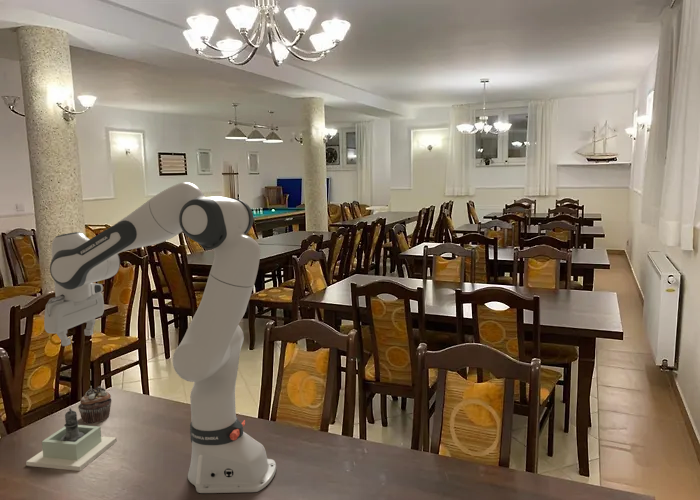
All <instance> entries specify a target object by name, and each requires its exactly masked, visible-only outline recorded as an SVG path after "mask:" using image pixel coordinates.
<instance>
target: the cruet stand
mask: <svg viewBox="0 0 700 500" xmlns="http://www.w3.org/2000/svg"><path fill="white" fill-rule="evenodd" d="M101 428H102V427H101V426H96V425H85V424H78V430H79V432H82V433H84V436H83V437H81V438H80V439H78V440H77V441H76V442H69V441H61V438H62V437H63V436H64V435H66V427H65V426H63V427H62V428H60V429H59V430H57V431H55V432H54V433H52V434H51V435H49V436H48V437H46V438H44V440H42V441H41V449H42V450H41V451H40V452H38V453H36V454H35V455H33V456H32V457H30V458H29V459H27V460H26V462H25V463H26V466H27V467H36V468H37V467H38V468H46V469H47V468H48V469H55V470H56V469H57V470H68V471H76V472H77V471H78V472H81V471H82V470H83V469H85V468H86V466H88V465H90V464H91V463H92V462H93V461H94V460H95V459H97V458H98V457H99V456H101V455H102V454H103V453H104V452H106V451H107V450H108V449H109V448H111V446H113V445H114V444H115V443H116V442H117V437H114V436H112V437H111V436H102V430H101Z"/></svg>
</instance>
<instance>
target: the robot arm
mask: <svg viewBox="0 0 700 500" xmlns="http://www.w3.org/2000/svg"><path fill="white" fill-rule="evenodd" d="M253 224H254V213H253V211H252V209H251V207H250V206H249V205H248V203H246V202H245V201H243V200H241V199H239V198H237V197H236V198H235V197H225V196H222V195H221V196H220V195H214V196H213V195H212V196H205V195H204V193H203V191H202V190H201V189H200V188H199V186H197V185H196V184H194V183H191V182H188V181H182V182H179V183H176V184H174V185H172V186H170V187H168V188H166V189H164V190H162V191H160V192H159V193H157V194H156V195H154V196H153V197H150V199H149V200H146V202H145V203H142V205H140V206H139V207H138V208H136V209H135V210H133V211H132V212H131V213H129V214H128V215H126V216H125V217H123V218H121V219H120V220H119V221H118V222H117V223H115V224H113V225H111V226H110V227H108V228H107V229H105V230H103V231H101V232H100V233H98V234H97V235H95V236H94V237H93V236H92V238H89V237H87V235H85V234H84V233H83V232H80V231H79V232H77V231H74V232H69V233H62V234H59V235H56V236H55V237H54V238H53V240H52V242H51V261H50V265H49V271H50V275H51V277H52V279H53V284H54V292H55V293H54V294H55V296H54V297H51V298H49V299H48V301H47V303H46V304H45V309H44V320H43V321H44V323H43V324H44V331H45V332H46V333H47V334H56V335H57V337H58V338H59V340H60V343H61V346H62V347H67V346H70V345H71V343H72V339H71V337H68V335H67V334H68V330H69V329H73V328H74V327H77V326H80V325H82V324H84V323H85V324H86V327H85V329H83V333H84V334H83V335H84V336H88V337H89V336H92V335H93V334H94V327H95V323H96V319H97V318H99V317H101V316H103V314H104V311H105V302H104V295H103V293H102V292H103V291H104V286H103V284H101V283H96V282H100V281H105V280H107V279H110V278H112V277H114V276H116V275H117V274H118V272H119V270H120V267H121V259H120V255H119V254H120V253H123V252H126V251H130V250H134V249H141V248H143V247H144V248H145V247H148V246H149V247H150V246H154V245H159V244H162V243H164V242H166V241H168V240H170V239H173V238H175V237H176V236H178V235H179V234H181V233H182V232H183V233H184V234H185V236H186V237H188V238H189V239H190V240H192V241H193V242H196V243H197V244H199V246H201V247H202V248H203V249H205V250H208V251H209V250H213V252H214V253H213V254H214V257H213V262H212V265H211V268H210V271H209V275H208V277H207V280H206V281H207V282H206V285H205V288H204V291H203V294H202V297H201V300H200V303H199V305H198V307H197V310H195V314H194V315H193V317H192V319H191V321H190V323H189V325H188V327H187V329H186V332H185V334H184V336H183V337H182V340H181V342H180V343H179V344H178V346H177V347H176V349H175V351H174V352H173V355H172V366H173V367H172V368H173V369H174V371H175V373H176V374H177V375H178V377H180V378H181V379H182V380H183V381H187V382H190V383H193V386H192V389H191V390H190V413H191V416H190V417H191V422H190V425H189V426H190V428H189V429H190V433H189V434H190V442H191V456H190V458H191V459H190V465H189V469H188V472H187V479H188V481H189V483H191V484H192V485H194V486H195V491H196V493H198V494H199V493H200V494H217V493H218V494H219V493H220V494H223V493H225V494H226V493H227V494H228V493H229V494H230V493H257V492H260V491H261V490H263V489H264V488H266V486H268V485H269V484H270V483H271V481H272V480H273V478H274V476H275V474H276V472H277V463H276V461H275V459H272V458H268V456H267V451H266V449H265V447H264V445H263V444H262V443H261V442H259V441H257V440H256V439H254V438H253V437H252V436H251V435H249V434H248V433H246V432H245V431H244V427H245V425H246V420H245V419H244V420H243V421H242V422H240V420H239V418H238V417H237V414H236V413H237V412H236V409H237V408H236V407H237V406H236V383H237V377H238V371H239V370H238V369H239V363H240V356H241V355H240V354H241V350H242V347H243V344H244V340H245V339H244V338H245V336H244V331H243V329H242V327H241V325H240V322H241V321H242V319H243V317H244V316H245V313H246V312H247V308H248V305H249V301H250V299H251V296H252V293H253V292H252V291H253V289H254V286H255V283H256V279H257V275H258V271H259V267H260V266H259V265H260V259H261V247H260V245H259V243H258V242H257V241H256V240H255V239H254V238H253V237H251V236H250V235H247V234H248V233H249V231H251V229H252V226H253Z"/></svg>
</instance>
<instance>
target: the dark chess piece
mask: <svg viewBox="0 0 700 500" xmlns="http://www.w3.org/2000/svg"><path fill="white" fill-rule="evenodd" d="M64 419H65V424H63V427H66V435H64V436H63V437H62V438H61V441H69V442H76V441H77V440H78V439H80V438H81V437H83V436H84V433H82V432H79V430H78V425H80V424H79V423H80V422H79V421H78V415H77V411H75V410H72V408H71V407H70V408H69V410H68V411H67V412H65V414H64Z"/></svg>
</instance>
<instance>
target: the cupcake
mask: <svg viewBox="0 0 700 500" xmlns="http://www.w3.org/2000/svg"><path fill="white" fill-rule="evenodd" d="M112 402H113V401H112V396H111V394H110V393H109V391H107V390H106V388H104V387H103V386H101V385H99V386H97V387H95V388H92V387H90V388H89V389H88V390H87V391H86V392H85V394H84V396H82V397H81V398H80V404H78V406H77V409H78V411H79V415H80V417H81V421H82V422H83V424H87V425H88V424H91V425H92V424H98V423H101V422H103V421H105V420H107V419H109V416H110V412H111V406H112Z"/></svg>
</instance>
